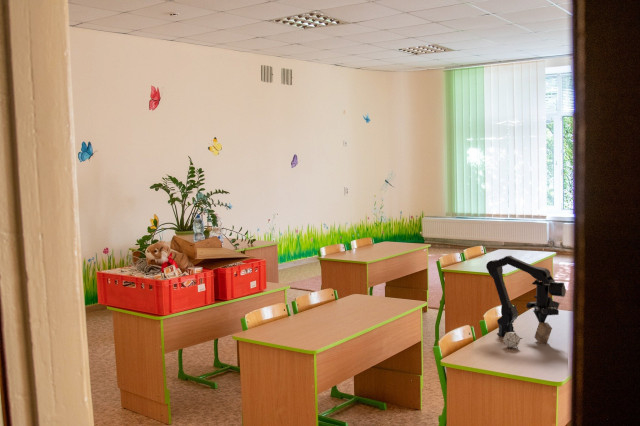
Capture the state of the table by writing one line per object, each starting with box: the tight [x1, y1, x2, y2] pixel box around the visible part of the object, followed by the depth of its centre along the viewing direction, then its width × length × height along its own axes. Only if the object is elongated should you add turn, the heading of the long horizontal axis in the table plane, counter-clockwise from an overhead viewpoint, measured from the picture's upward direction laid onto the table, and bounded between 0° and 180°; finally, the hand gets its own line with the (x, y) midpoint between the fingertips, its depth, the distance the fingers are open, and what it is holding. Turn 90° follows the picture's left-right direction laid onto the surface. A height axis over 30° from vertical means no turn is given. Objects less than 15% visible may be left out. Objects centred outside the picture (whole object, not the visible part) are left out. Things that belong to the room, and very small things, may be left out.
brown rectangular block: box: [534, 321, 553, 344], centre depth 288 cm, size 4×4×9 cm
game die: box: [500, 330, 523, 350], centre depth 279 cm, size 9×8×10 cm
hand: (541, 325), depth 289 cm, fingers closed
